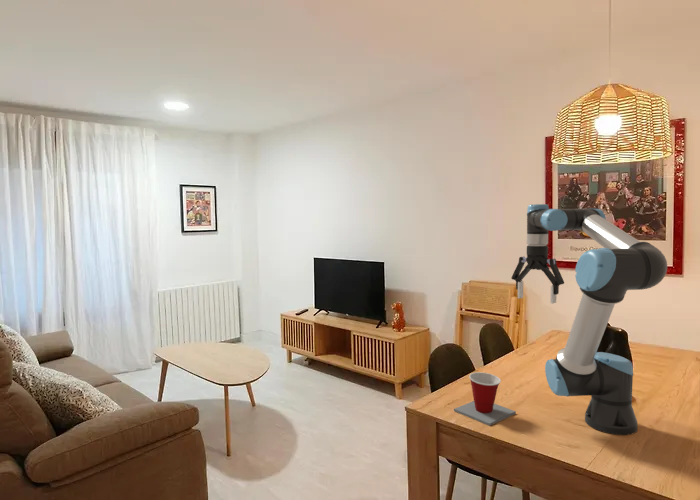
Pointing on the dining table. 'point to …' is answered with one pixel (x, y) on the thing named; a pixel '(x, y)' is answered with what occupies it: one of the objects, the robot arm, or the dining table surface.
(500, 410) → the rest mat
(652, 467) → the dining table surface
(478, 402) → the plastic cup
